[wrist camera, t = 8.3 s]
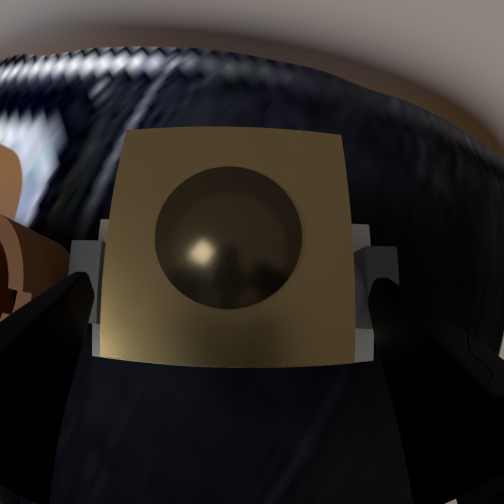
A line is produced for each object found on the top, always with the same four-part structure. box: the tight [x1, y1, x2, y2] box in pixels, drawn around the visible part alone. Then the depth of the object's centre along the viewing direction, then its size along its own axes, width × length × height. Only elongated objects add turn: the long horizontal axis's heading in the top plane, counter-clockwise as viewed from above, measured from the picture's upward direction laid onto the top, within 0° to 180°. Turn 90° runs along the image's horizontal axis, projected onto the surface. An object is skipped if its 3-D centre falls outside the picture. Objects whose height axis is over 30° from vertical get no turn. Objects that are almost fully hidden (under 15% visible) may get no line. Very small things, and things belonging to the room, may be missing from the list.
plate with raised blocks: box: [68, 219, 399, 368], centre depth 16 cm, size 18×9×4 cm, turn 89°
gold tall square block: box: [100, 127, 355, 368], centre depth 11 cm, size 5×5×13 cm
